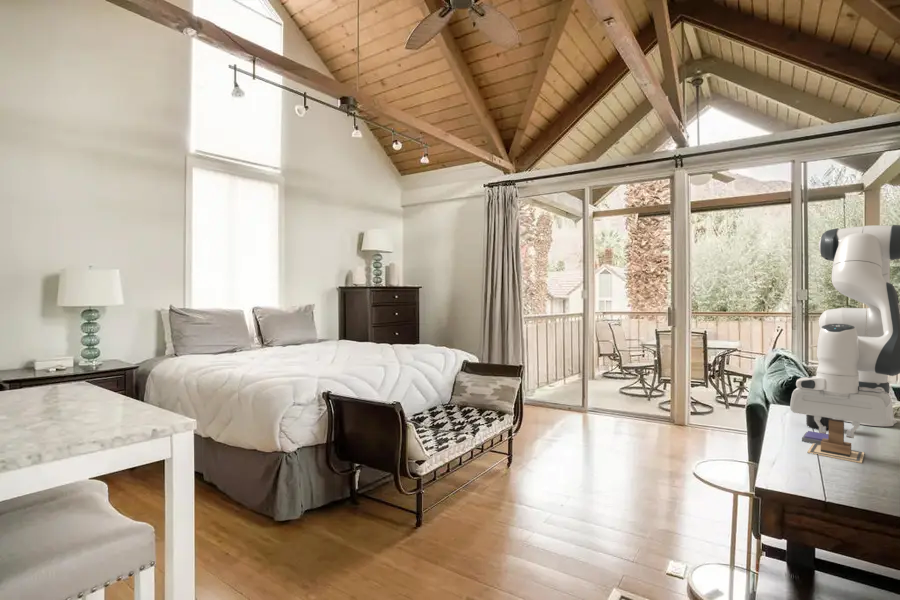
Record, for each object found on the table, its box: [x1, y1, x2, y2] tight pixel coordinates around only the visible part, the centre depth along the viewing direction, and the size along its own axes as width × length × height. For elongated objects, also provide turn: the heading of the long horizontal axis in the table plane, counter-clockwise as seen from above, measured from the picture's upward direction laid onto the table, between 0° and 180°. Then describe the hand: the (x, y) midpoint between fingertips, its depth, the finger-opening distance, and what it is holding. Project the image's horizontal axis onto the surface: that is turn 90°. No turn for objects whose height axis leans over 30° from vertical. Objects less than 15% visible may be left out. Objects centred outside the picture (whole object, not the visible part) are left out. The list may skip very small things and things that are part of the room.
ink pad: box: [801, 430, 828, 444], centre depth 136 cm, size 9×8×2 cm
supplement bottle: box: [805, 414, 833, 431], centre depth 151 cm, size 7×7×12 cm
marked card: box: [807, 443, 865, 464], centre depth 125 cm, size 11×11×1 cm
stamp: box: [821, 418, 852, 457], centre depth 125 cm, size 5×6×9 cm
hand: (836, 435), depth 125 cm, fingers open, 4 cm apart
